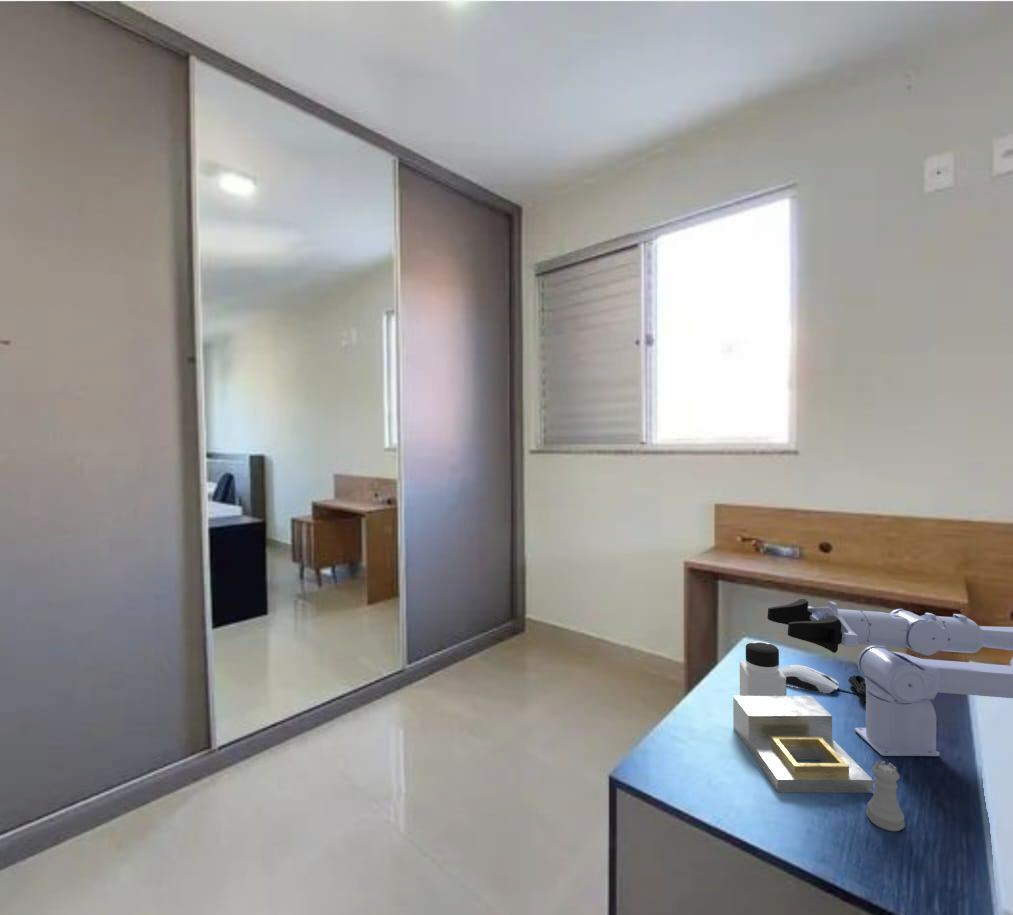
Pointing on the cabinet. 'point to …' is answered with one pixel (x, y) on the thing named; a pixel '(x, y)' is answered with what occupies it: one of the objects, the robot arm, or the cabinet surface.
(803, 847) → the cabinet surface
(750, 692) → the medicine bottle
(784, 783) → the white stepped block
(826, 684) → the computer mouse
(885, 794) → the rook chess piece
